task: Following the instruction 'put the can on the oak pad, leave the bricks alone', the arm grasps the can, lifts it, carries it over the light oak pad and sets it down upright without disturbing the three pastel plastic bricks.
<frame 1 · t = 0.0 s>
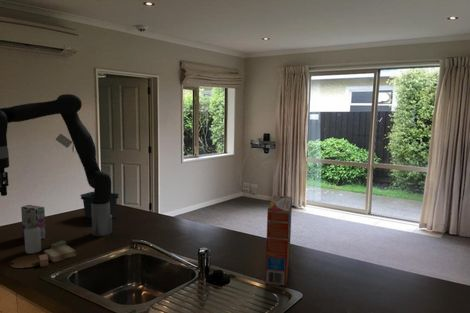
hand: (0, 193, 156), 29 cm above the worktop, fingers open, 8 cm apart
oak pad: (60, 255, 164), on the worktop
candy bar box: (34, 238, 186), on the worktop
pasta box: (278, 272, 152), on the worktop
brick cream: (61, 143, 162), point 51 cm above the worktop, tilted 44°
brick sage: (58, 249, 172), on the worktop
storage bin: (101, 217, 222), on the worktop
brick terracotta: (44, 263, 156), on the worktop
can: (33, 251, 169), on the worktop
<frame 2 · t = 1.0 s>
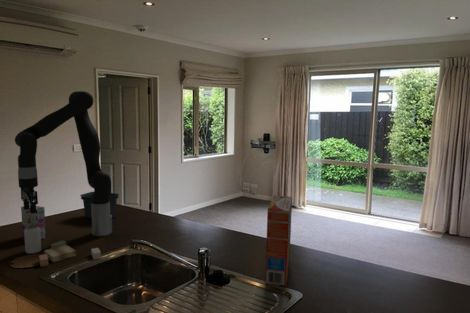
hand: (29, 211, 166), 19 cm above the worktop, fingers open, 8 cm apart
brick cream: (92, 254, 163), point 1 cm above the worktop, tilted 90°
everything else where it was.
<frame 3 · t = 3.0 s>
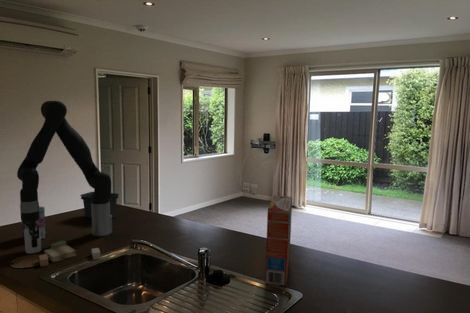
hand: (31, 244, 168), 3 cm above the worktop, fingers closed on can, 6 cm apart
can: (33, 251, 169), on the worktop, touching gripper
everything else where it was.
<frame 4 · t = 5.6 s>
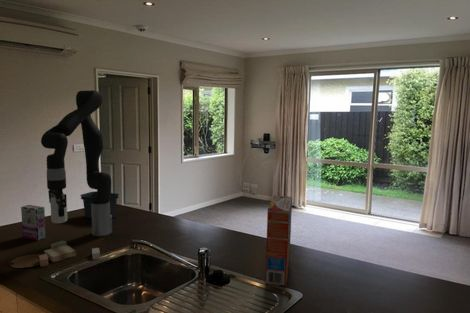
hand: (58, 214, 162), 19 cm above the worktop, fingers closed on can, 6 cm apart
can: (59, 221, 162), point 16 cm above the worktop, touching gripper
everything else where it was.
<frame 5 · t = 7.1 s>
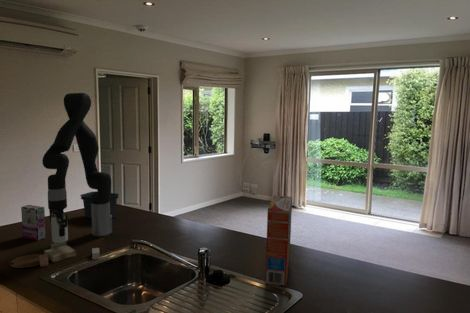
hand: (58, 234, 163), 10 cm above the worktop, fingers closed on can, 6 cm apart
can: (60, 241, 163), point 7 cm above the worktop, touching gripper
everything else where it was.
when the fingers open (7 cm above the worktop, at t = 8.4 s): can stays where it is, resting on oak pad.
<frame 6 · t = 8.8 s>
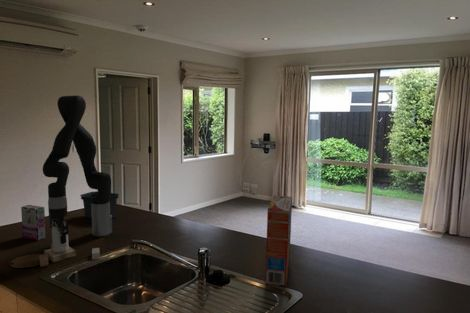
hand: (59, 240, 163), 7 cm above the worktop, fingers open, 8 cm apart
can: (60, 250, 164), point 2 cm above the worktop, touching oak pad
everything else where it was.
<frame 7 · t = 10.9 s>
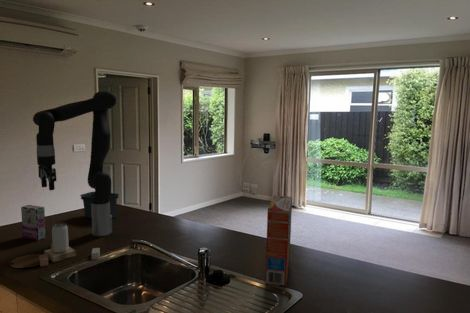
hand: (48, 188, 171), 28 cm above the worktop, fingers open, 8 cm apart
nothing on the worktop moved.
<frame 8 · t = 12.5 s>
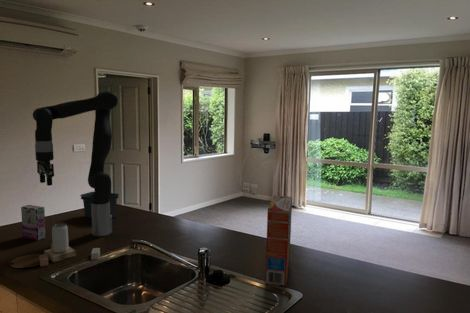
hand: (46, 183, 174), 30 cm above the worktop, fingers open, 8 cm apart
nothing on the worktop moved.
at the end: can inside the target area on the oak pad (0.5 cm from its centre), point 2.3 cm above the oak pad's base; can tilted 0°; brick sage moved 0.2 cm from its start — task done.
